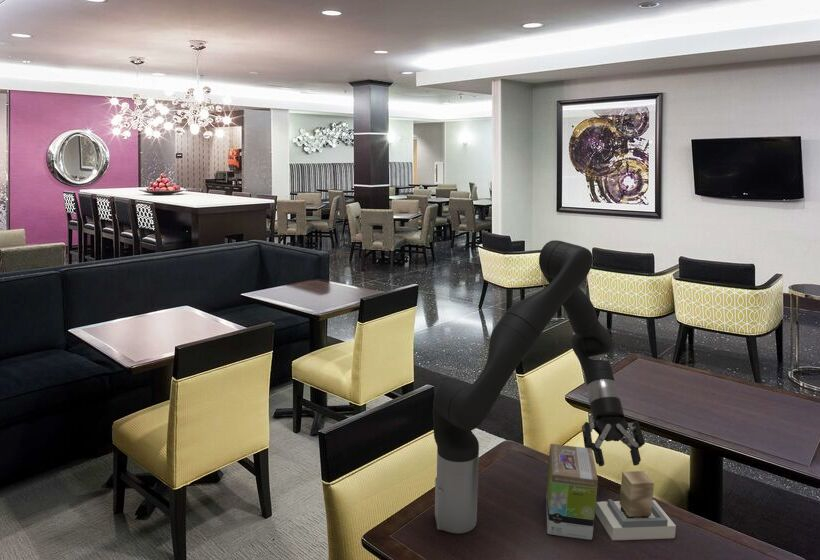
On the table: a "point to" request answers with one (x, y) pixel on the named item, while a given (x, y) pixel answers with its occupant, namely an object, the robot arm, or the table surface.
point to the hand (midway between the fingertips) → (619, 465)
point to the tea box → (571, 492)
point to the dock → (634, 522)
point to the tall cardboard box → (636, 494)
